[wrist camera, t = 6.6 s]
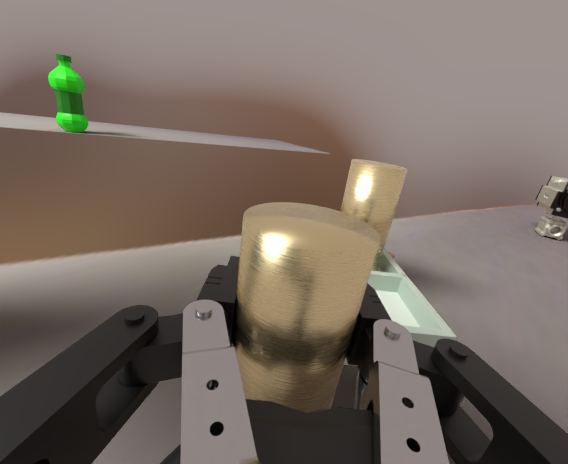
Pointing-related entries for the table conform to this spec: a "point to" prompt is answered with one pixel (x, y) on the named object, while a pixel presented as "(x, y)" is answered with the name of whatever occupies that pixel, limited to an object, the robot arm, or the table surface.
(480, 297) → the table surface
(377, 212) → the seated billet
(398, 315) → the pale green divided tray
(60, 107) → the plastic bottle
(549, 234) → the pneumatic valve
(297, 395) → the billet
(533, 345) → the table surface
